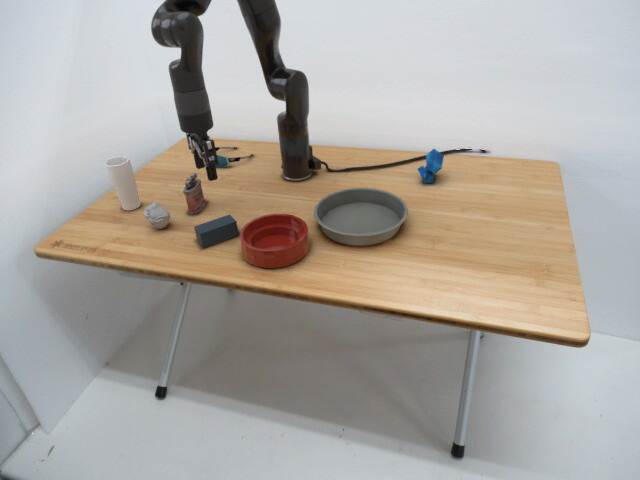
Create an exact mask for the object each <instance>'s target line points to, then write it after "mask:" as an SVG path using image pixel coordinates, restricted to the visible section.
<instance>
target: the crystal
mask: <svg viewBox="0 0 640 480" xmlns="http://www.w3.org/2000/svg"><path fill="white" fill-rule="evenodd" d="M439 152H440V151H438V150H437V149H436V148H432V150H430V151H429V152H428V153H427V154H425V155H426V158H425V165H421V166H419V167H418V168H417V171H418V173H419V174H420V176H421V178H422V179H423V182H424V183H425V184H433V182H434V178H435V177H434V176H435V175H436V174H437V173H438V172H439V171H440V170H442V168H443V163H444V159H445V158H444V157H445V156H444V155H445V154H441V153H439Z"/></svg>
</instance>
